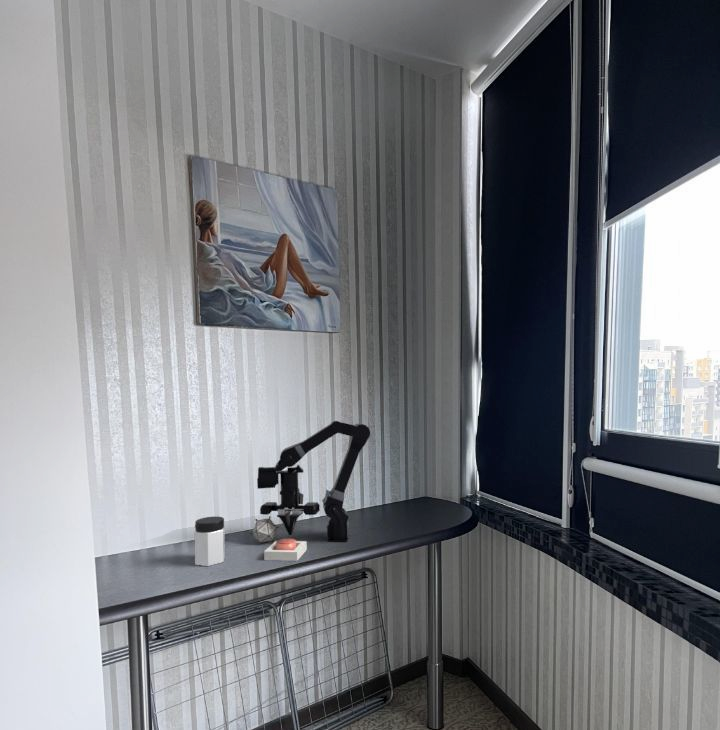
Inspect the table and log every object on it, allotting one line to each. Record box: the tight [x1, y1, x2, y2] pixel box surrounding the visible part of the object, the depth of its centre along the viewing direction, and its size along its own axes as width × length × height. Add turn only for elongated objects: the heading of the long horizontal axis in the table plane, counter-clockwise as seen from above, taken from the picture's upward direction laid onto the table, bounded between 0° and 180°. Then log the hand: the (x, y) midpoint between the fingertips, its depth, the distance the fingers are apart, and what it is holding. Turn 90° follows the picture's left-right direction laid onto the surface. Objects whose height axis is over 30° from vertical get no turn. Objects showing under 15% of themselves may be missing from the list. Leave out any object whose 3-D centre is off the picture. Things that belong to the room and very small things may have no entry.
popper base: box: [263, 540, 308, 562], centre depth 140 cm, size 10×10×2 cm
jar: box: [194, 516, 226, 567], centre depth 137 cm, size 9×8×12 cm
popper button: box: [275, 537, 297, 550], centre depth 140 cm, size 6×6×4 cm
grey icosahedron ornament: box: [249, 516, 280, 546], centre depth 152 cm, size 9×8×10 cm
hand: (290, 535), depth 151 cm, fingers closed
